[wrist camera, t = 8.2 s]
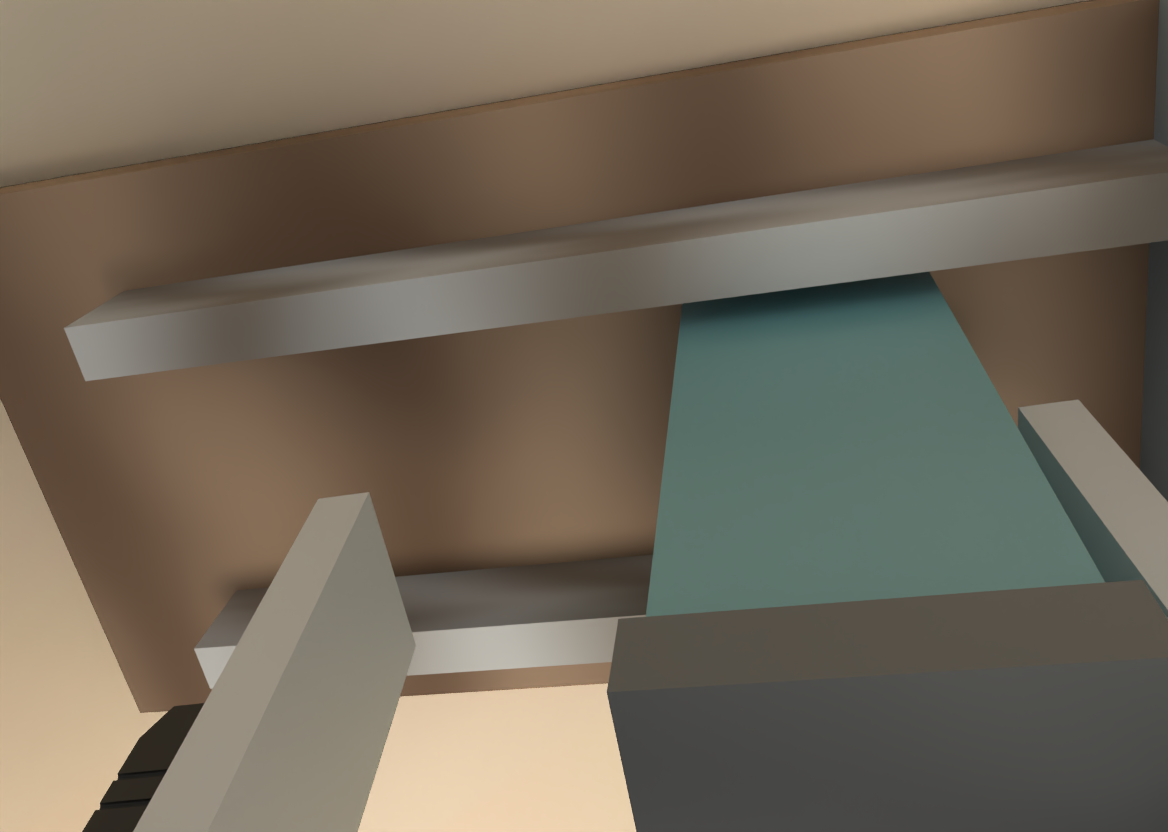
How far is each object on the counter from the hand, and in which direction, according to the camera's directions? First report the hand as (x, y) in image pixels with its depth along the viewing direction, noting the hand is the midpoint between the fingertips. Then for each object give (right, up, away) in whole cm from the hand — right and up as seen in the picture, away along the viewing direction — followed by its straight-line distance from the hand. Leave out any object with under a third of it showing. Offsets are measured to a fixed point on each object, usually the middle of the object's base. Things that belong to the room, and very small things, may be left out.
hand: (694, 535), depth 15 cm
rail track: (+1, +2, +6) cm, 6 cm away
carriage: (+3, +2, +4) cm, 5 cm away
